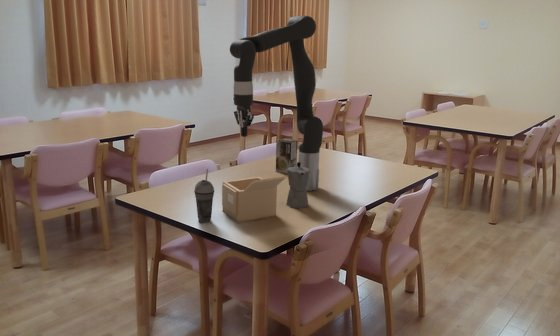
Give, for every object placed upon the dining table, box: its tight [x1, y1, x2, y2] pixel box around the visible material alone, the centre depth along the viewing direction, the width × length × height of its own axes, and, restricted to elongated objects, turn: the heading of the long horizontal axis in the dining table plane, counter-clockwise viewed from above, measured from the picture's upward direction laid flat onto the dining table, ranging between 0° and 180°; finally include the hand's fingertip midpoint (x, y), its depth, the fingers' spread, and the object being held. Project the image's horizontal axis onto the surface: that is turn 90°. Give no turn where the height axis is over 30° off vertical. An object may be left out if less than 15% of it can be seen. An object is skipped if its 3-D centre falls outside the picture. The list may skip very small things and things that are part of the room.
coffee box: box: [275, 138, 298, 174], centre depth 255 cm, size 9×6×16 cm
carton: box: [221, 176, 278, 224], centre depth 194 cm, size 15×18×12 cm
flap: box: [244, 176, 286, 192], centre depth 182 cm, size 1×13×9 cm
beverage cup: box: [193, 168, 215, 224], centre depth 184 cm, size 7×7×20 cm
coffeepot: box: [286, 161, 310, 209], centre depth 206 cm, size 15×9×18 cm, turn 13°
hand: (243, 136), depth 201 cm, fingers closed
